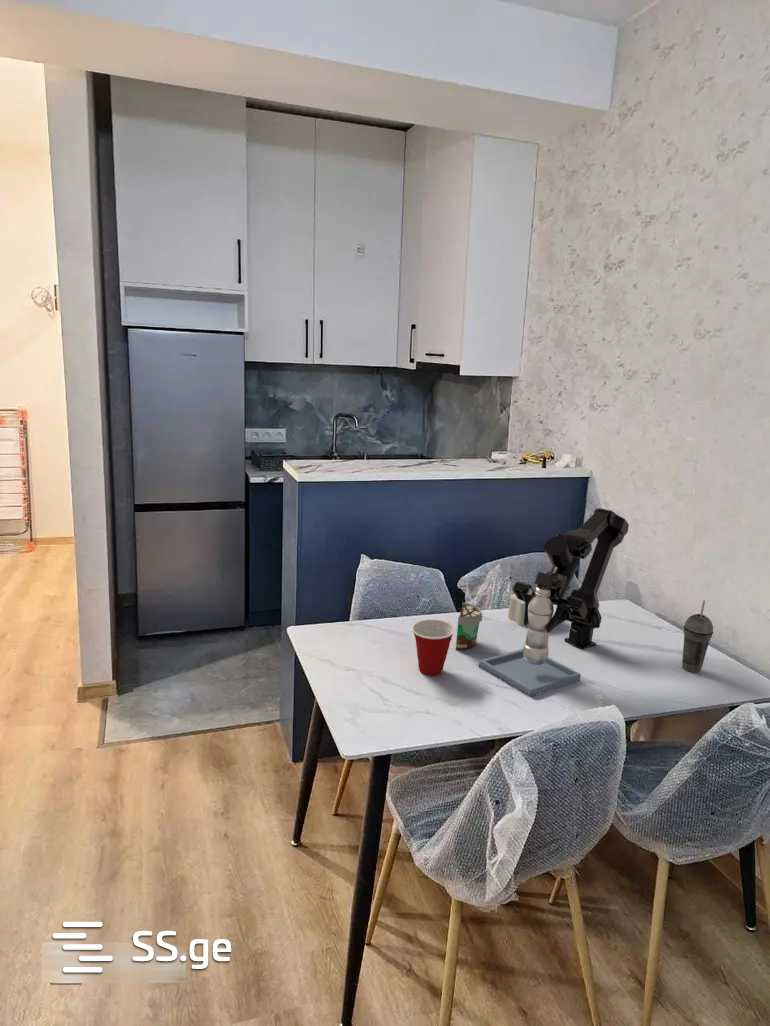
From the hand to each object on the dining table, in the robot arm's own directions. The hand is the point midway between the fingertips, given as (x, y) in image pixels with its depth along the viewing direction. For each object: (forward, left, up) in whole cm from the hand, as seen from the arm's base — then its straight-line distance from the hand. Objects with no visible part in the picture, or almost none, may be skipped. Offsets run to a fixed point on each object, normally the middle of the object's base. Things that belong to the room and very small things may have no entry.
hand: (535, 628), depth 173 cm
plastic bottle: (-1, 0, -10) cm, 10 cm away
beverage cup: (-43, +18, -13) cm, 48 cm away
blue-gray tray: (-1, -1, -13) cm, 13 cm away
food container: (+1, -22, -13) cm, 26 cm away
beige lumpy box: (-29, -28, -13) cm, 43 cm away
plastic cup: (+21, -14, -13) cm, 29 cm away
